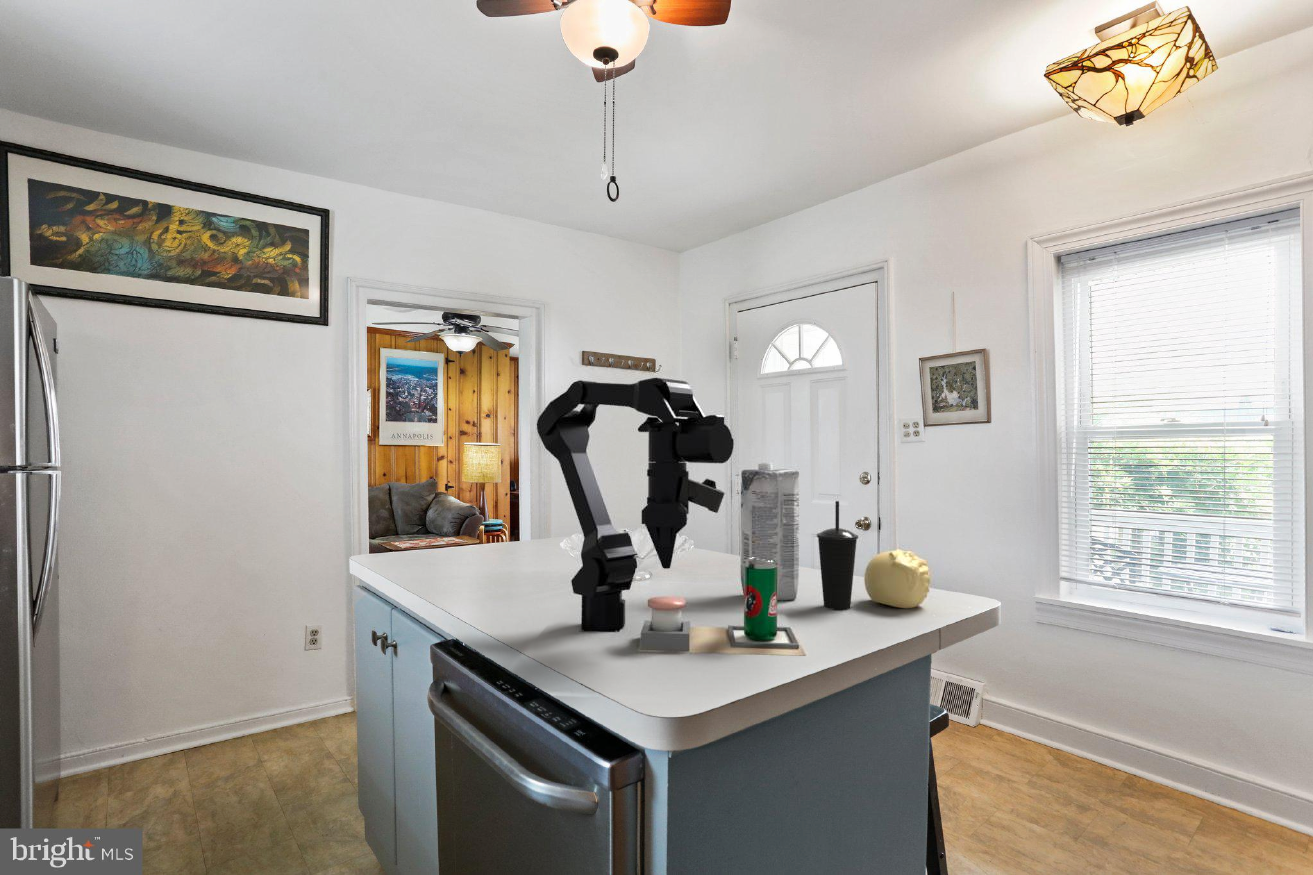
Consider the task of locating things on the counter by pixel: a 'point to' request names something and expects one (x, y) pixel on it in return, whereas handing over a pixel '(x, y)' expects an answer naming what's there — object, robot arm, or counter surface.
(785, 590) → the juice carton
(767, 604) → the soda can
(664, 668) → the counter surface
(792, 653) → the board
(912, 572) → the sculpture
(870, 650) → the counter surface
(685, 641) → the button housing
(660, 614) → the button
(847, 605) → the drinking cup
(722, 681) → the counter surface
